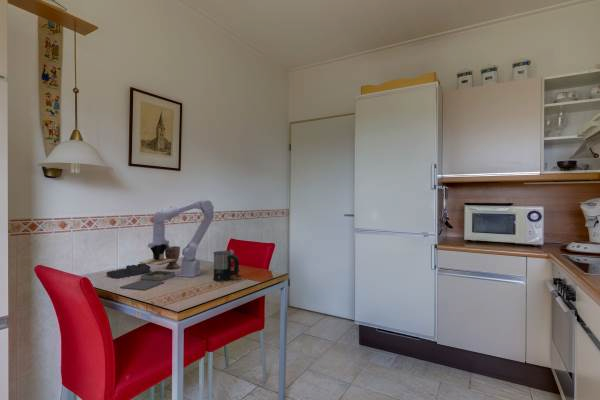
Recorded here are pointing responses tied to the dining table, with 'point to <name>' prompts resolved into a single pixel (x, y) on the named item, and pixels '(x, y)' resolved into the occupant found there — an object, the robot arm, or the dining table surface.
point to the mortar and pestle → (172, 256)
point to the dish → (157, 275)
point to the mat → (142, 285)
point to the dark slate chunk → (130, 271)
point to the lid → (158, 262)
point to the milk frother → (224, 265)
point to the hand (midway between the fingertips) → (158, 259)
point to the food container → (231, 254)
